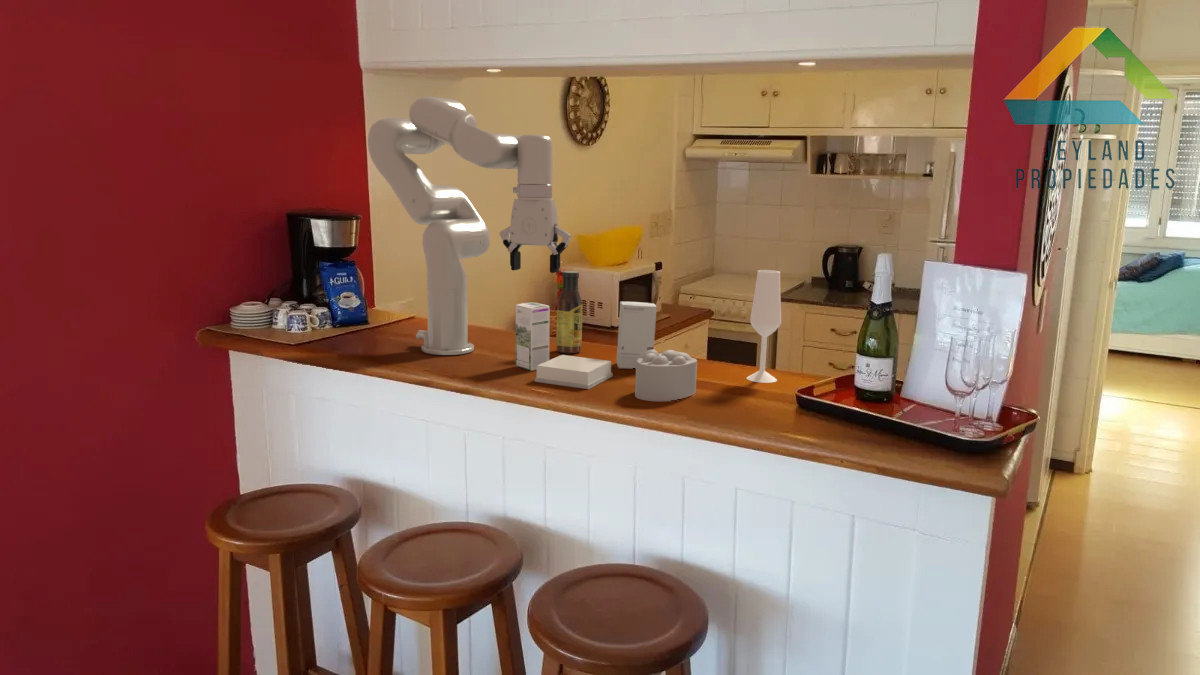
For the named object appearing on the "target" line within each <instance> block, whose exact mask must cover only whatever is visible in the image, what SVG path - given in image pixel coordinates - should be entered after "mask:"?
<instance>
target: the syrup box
mask: <svg viewBox="0 0 1200 675" xmlns="http://www.w3.org/2000/svg"><path fill="white" fill-rule="evenodd" d="M550 307H551V306H550V305H547V304H543V303H540V302H539V303H538V302H531V301H530V302H522V303H517V304H515V367H517V368H521V369H524V370H527V371H530V372H531V371H532V372H533V371H537V365H539V364H541V363H544V362H546V361H549V360H550V315H551V313H550Z"/></svg>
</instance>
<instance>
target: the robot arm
mask: <svg viewBox="0 0 1200 675" xmlns="http://www.w3.org/2000/svg"><path fill="white" fill-rule="evenodd" d="M408 111H409V112H408V113H409V114H408V115H409V116H408V117H409V118H404V117H403V118H402V117H385V118H381V119H379V120H377V121H375V122H374V123H373V124H372V125H371V126H370V128H369V130H368V135H367V147H368V152H369V156H370V158H371V161H372V163H373V165H374V166H375V168H376V169H377V170H378V172H379V174H381V176H382V177H383V179H385V181H386V182H387V184H389V186H390V187H391V189H392V190H393V192H394V194H395V195H396V197H397V198H398V200H399V202H400V203H401V205H402V206H403V207H404V209H405V211H406V212H407V214H408V215H409V216H410V218H411V219H412V220H413V221H414V222H415V223H416V224H418V225H425V226H426V228H425V229H424V231H423V233H422V240H421V242H422V243H421V244H422V248H423V253H424V260H425V264H426V284H427V285H426V287H427V288H426V289H427V330H422V329H418V330H417V332H416V335H415V339H417V340H423V342H424V343H423V344H421V351H422V352H423V353H425V354H429V355H437V356H457V355H466V354H469V353H472V352H473V351H474V350H475V345H474V344H473V343H472V342H468V276H467V272H466V269H465V267H464V265H463V262H462V259H468V258H469V259H471V258H477V257H481V256H483V255H484V254H486V253H487V251H488V249H489V247H490V244H491V234H490V232H489V228H488V226H487V224H486V223H485V221H484V220H483V218H482V217H481V215H480V214H479V212H478V211H477V210H476V208H475V206H474V205H473V203H472V202H471V201H470V199H469V197H468V196H467V195H466V194H465V193H464V192H463V191H462V190H461V189H460V188H458V187H456V186H453V185H445V184H444V185H443V184H439V185H438V184H434V183H432V182H431V181H430V180H429V179H428V177H427V176H426V175H425V173H424V171H423V170H422V168H421V167H420V166H419V165H418V164H417V163H416V162H414V161H413V160H412V159H411V158H409V156H407V155H426V154H430V153H433V152H435V151H436V150H438V149H439V148H441V147H442V146H444V145H448V146H450V147H452V149H453V151H454V152H455V153H456V155H457V156H459V157H460V158H462V159H463V160H466V161H467V162H469V163H472V164H474V165H476V166H478V167H481V168H486V169H490V170H491V169H493V170H494V169H495V170H497V169H498V170H499V169H500V170H501V169H503V170H517V184H516V186H514V187H513V188H512V193H513V194H516V197H517V198H514V199H513V203H512V207H511V216H510V223H509V224H510V226H508V227H506V228H504V229H502V230H500V231H499V236H500V238H501V240H502V244H503V245H504V246H505V248H506V249H507V251H508V253H509V264H510V269H511V271H519V270H521V268H522V267H521V262H522V261H521V253H522V252H521V251H519V249H520V248H521V247H522V246H539V247H543V246H546V247H547V248H548V249H549V251H550V252H551V254H550V255H549V273H551V274H555V273H559V271H560V269H561V255H562V254H563V252H564V251H565V250H566V248H568V244H569V243H570V241H571V239H572V238H573V237H572V234H570V233H569V232H567V231H566V230H564V229H563V228H561V227H560V226H559V219H558V217H559V216H558V210H557V205H556V201H555V199H553V140H552V138H551V137H550V136H548V135H545V134H524V135H520V134H509V133H493V132H488V131H485V130H482V129H480V128H479V127H478V123H477V120H476V117H475V116H474V115H473V114H472V113H470V112H468V111H467V109H466V107H465V106H464V104H462V103H461V102H460V101H458V100H456V99H454V98H445V97H438V96H437V97H436V96H423V97H420V98H417V99H416V100H414V102H413V103H412V104H411V105H410V107H409V110H408ZM559 236H560V237H561V238H562V240H561V242H560V243H558V242H559Z"/></svg>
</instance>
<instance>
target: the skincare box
mask: <svg viewBox="0 0 1200 675" xmlns="http://www.w3.org/2000/svg"><path fill="white" fill-rule="evenodd" d="M618 317H619V318H618V332H617V333H618V334H617V351H616V365H617V369H627V370H629V369H630V370H631V369H632V370H633V368H635V370H636V361H637V360H638V359H639V358H640V357H641V356H644V354H645V352H646V351H648V350H651V349H654V350H655V348H654V347H655V334H656V322H657V320H656V319H657V305H656V304H655V303H654V302H642V301H641V302H640V301H620V302H619V316H618Z"/></svg>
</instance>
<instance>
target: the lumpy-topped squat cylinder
mask: <svg viewBox="0 0 1200 675" xmlns="http://www.w3.org/2000/svg"><path fill="white" fill-rule="evenodd" d="M697 372H698V360H697V359H696V358H693V357H691V355H690V354H688V353H686V352H682V351H676V350H673V349H666V350H665V351H663V352H660V353H659V352H658V351H657V350H656V349H655V348H654V349H651V350H648V351H646V352H645V354H644V356H641V357H640V358H639V359H638V360H637V361H636V369H635V382H634V383H635V384H634V385H635V386H634V396H635V398H637V399H639V400H642V401H646V402H647V401H648V402H649V401H650V402H672V401H671V400H677V399H682V398H685V397H688V396H691V395H693V394H695V393H696V392H697V390H696V389H697V378H698V377H697V374H698V373H697ZM696 394H697V393H696ZM696 394H695V395H696ZM682 400H683V399H682ZM677 401H678V400H677Z"/></svg>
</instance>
